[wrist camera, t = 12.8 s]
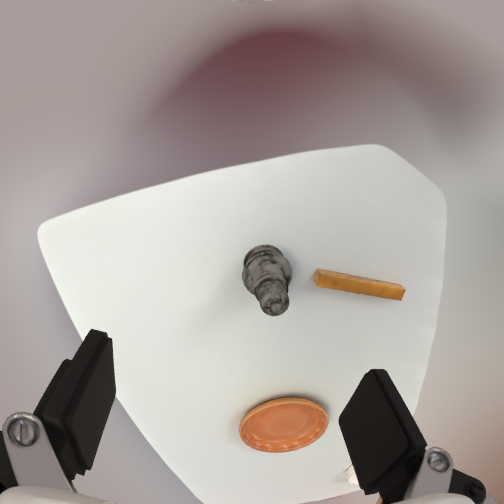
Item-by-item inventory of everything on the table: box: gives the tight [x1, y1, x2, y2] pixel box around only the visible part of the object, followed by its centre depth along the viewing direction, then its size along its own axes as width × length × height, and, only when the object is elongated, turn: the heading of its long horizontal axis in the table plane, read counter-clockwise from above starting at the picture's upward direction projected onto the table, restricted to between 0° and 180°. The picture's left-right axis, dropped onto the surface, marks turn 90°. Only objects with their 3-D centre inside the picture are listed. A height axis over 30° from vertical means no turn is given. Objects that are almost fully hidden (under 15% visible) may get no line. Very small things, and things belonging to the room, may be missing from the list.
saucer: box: [239, 398, 328, 453], centre depth 48 cm, size 16×16×3 cm
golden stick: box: [314, 269, 406, 301], centre depth 40 cm, size 2×14×2 cm, turn 76°
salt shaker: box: [242, 245, 292, 316], centre depth 33 cm, size 6×6×12 cm
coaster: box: [346, 465, 359, 484], centre depth 58 cm, size 10×10×4 cm
